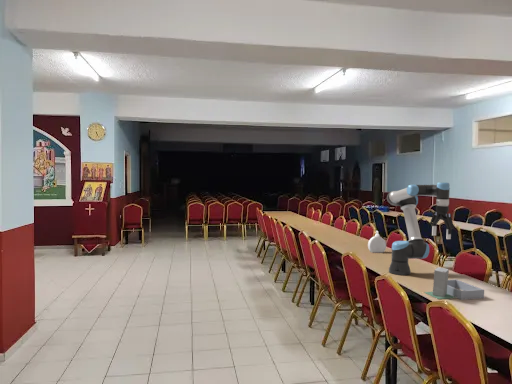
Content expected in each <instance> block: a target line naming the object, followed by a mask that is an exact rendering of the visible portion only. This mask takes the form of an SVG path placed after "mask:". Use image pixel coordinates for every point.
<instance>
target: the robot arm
mask: <svg viewBox="0 0 512 384" xmlns="http://www.w3.org/2000/svg"><path fill="white" fill-rule="evenodd" d="M450 189H451V188H450V183H449V182H443V181H442V182H439V181H438V182H437V183H436V184H413V183H412V184H409V185H407V187H405V188H402V189H399V190H392V191H390V192H388V193H387V196H386V200H387V202H388V203H389V204H390V205H391V206H396V207H400V210H401V211H403V216H404V221H405V225H406V231H407V235H408V236H407V237H408V240H395V241H393V242H392V244H391V263H390V264H389V267H388V272H389V273H390V274H393V275H399V276H409V275H411V271H412V270H411V268H410V265H409V259H417V260H418V259H420V260H422V259H426V258H428V256H429V254H430V245H429V244H428V242H426V241H425V239H424V238H422V235H421V232H420V226H419V223H418V217H417V213H416V208H417V205H418V204H419V197H421V196H423V197H424V196H425V197H427V196H429V197H433V196H434V197H435V199H436V200H435V201H436V202H435V203H436V204H435V211H433V212H432V213H433V215H432V217H431V219H430V222H429V225H431V236H437V224H438V223H439V221H440V220H442V221H443V222H444V224H445V226H446V235H445V236H446V240H451V239H452V238H451V237H452V230H455V225H454V222H453V219H452V214H451V213H448V212H450V211H449V208H450V206H449V205H450ZM418 196H419V197H418Z"/></svg>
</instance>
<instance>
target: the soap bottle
mask: <svg viewBox="0 0 512 384" xmlns="http://www.w3.org/2000/svg"><path fill="white" fill-rule="evenodd" d="M375 232H376V233H375V234H374V236H372V237H371V238H370V239H369V240H368V242H367V249H368V250H369V252H370V253H381V254H382V253H385V251H386V248H387V243H386V240H385V239H384V238H382V236H381V235H380V234H379V231H378V230H375Z"/></svg>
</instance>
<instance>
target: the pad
mask: <svg viewBox="0 0 512 384" xmlns="http://www.w3.org/2000/svg"><path fill="white" fill-rule="evenodd" d="M424 294H426V295H427V296H430V297H432V298H434V297H435V298H434V299H436V298H437V299H436V300H447V299H449V300H450V299H456V297H454V296H452V295H449V294H446V295H445V296H444V297H439V296H435V295H433V291H424Z"/></svg>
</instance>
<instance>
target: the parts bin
mask: <svg viewBox="0 0 512 384" xmlns="http://www.w3.org/2000/svg"><path fill="white" fill-rule="evenodd" d="M447 294H449V295H451V296H454V297H456V298H457V299H459V300H461V301H463V300H473V299H476V300H477V299H484V298H485V289H484V288H480V287H479V286H475V285H474V284H473V285H472V284H469V283H467V282H465V281H462V280H459V279H454V278H452V279H448V284H447ZM456 298H455V299H456Z"/></svg>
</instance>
